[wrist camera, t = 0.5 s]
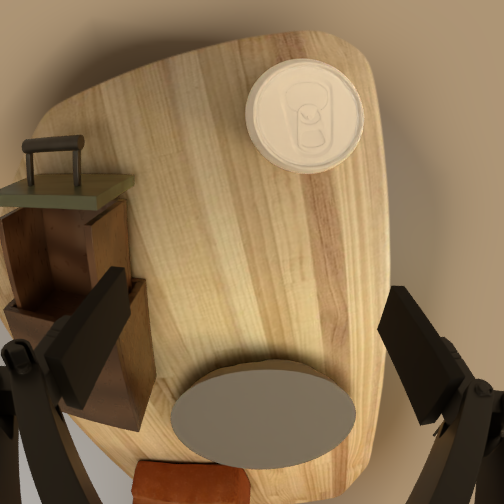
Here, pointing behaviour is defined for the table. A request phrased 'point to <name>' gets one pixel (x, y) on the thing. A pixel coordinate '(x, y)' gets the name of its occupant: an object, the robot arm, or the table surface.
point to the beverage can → (304, 116)
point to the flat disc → (263, 415)
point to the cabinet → (107, 363)
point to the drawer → (62, 231)
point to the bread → (189, 484)
